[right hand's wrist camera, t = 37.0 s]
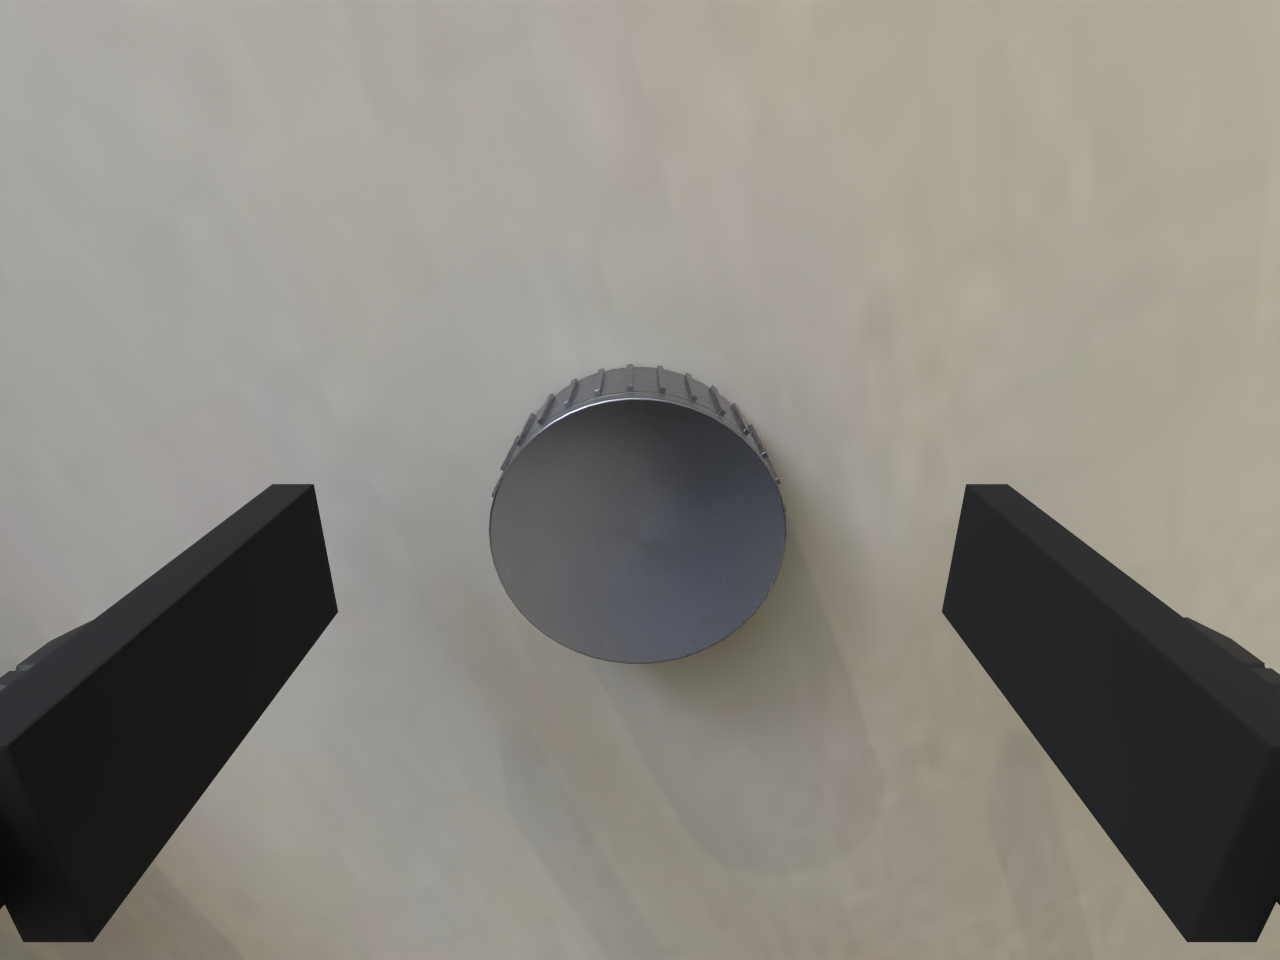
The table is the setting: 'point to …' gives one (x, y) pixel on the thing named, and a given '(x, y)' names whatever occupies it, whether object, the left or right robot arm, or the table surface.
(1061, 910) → the table surface
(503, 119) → the table surface
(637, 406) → the lid
